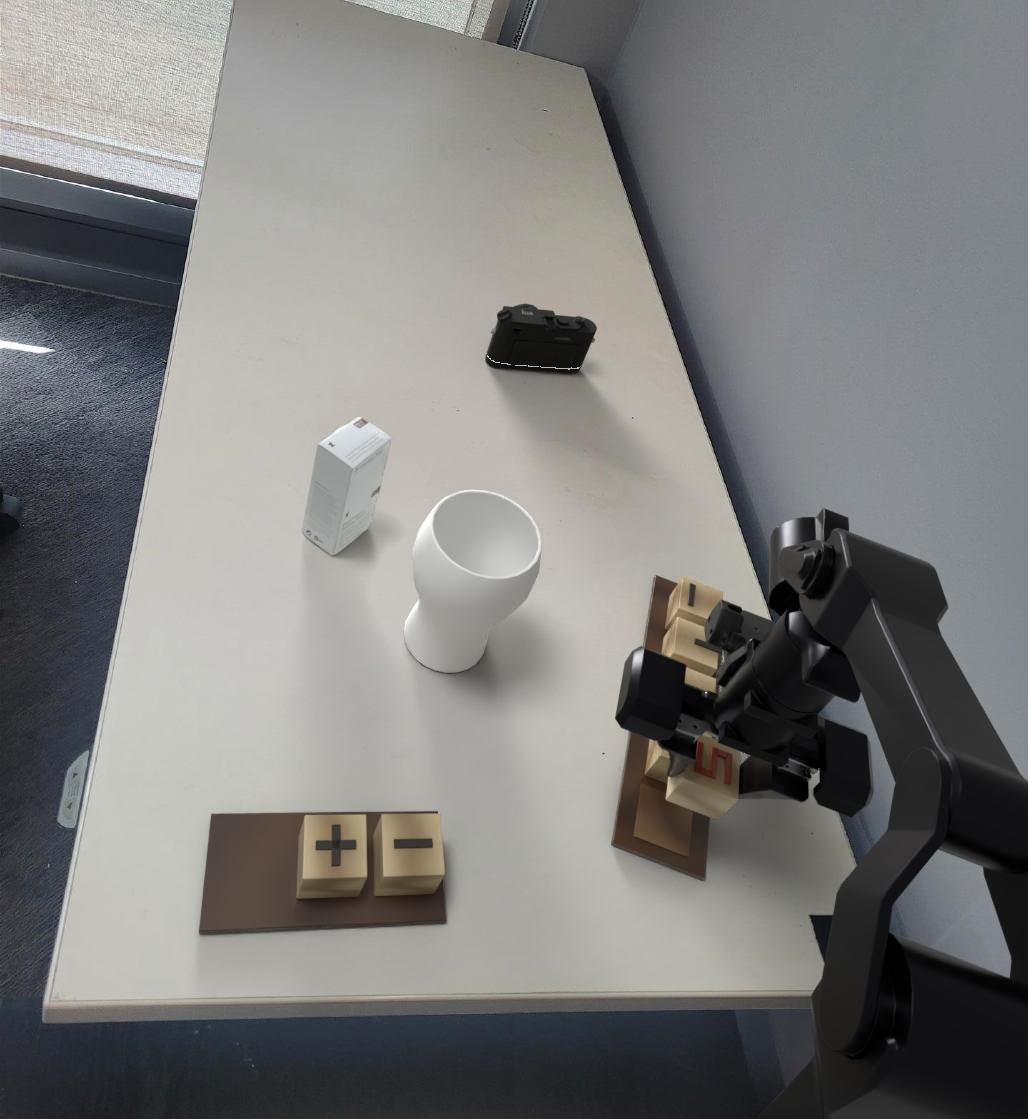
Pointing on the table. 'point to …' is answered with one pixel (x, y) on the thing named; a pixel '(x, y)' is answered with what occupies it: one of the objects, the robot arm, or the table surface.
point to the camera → (539, 340)
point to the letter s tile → (708, 780)
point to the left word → (322, 871)
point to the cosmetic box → (345, 485)
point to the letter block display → (642, 798)
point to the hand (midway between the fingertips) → (697, 782)
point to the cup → (469, 576)
